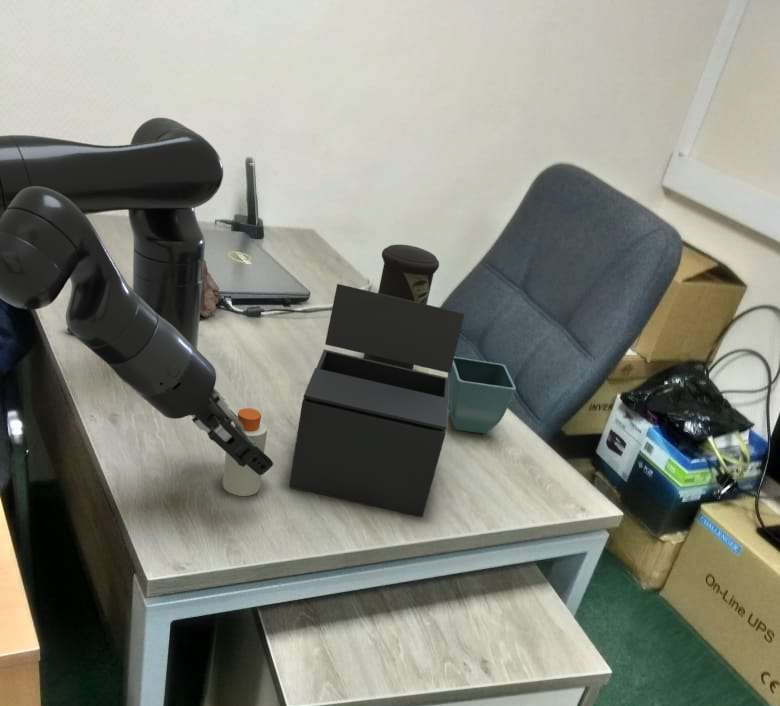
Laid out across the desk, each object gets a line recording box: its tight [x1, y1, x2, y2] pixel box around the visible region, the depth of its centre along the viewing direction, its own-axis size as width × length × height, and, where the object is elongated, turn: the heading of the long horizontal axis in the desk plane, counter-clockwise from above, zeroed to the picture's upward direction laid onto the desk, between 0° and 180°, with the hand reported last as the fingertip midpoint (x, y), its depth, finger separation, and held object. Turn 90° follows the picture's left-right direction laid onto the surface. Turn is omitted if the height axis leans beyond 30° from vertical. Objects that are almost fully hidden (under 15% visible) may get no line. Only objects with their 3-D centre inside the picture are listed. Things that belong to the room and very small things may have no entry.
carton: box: [288, 349, 449, 518], centre depth 103 cm, size 17×16×13 cm
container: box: [363, 244, 440, 370], centre depth 129 cm, size 9×9×20 cm
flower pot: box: [446, 356, 517, 435], centre depth 121 cm, size 9×9×9 cm
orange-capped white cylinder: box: [222, 407, 268, 497], centre depth 95 cm, size 4×4×10 cm
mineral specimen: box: [200, 259, 221, 318], centre depth 135 cm, size 12×13×15 cm
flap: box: [324, 283, 465, 374], centre depth 105 cm, size 17×8×1 cm
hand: (252, 449), depth 95 cm, fingers open, 8 cm apart
